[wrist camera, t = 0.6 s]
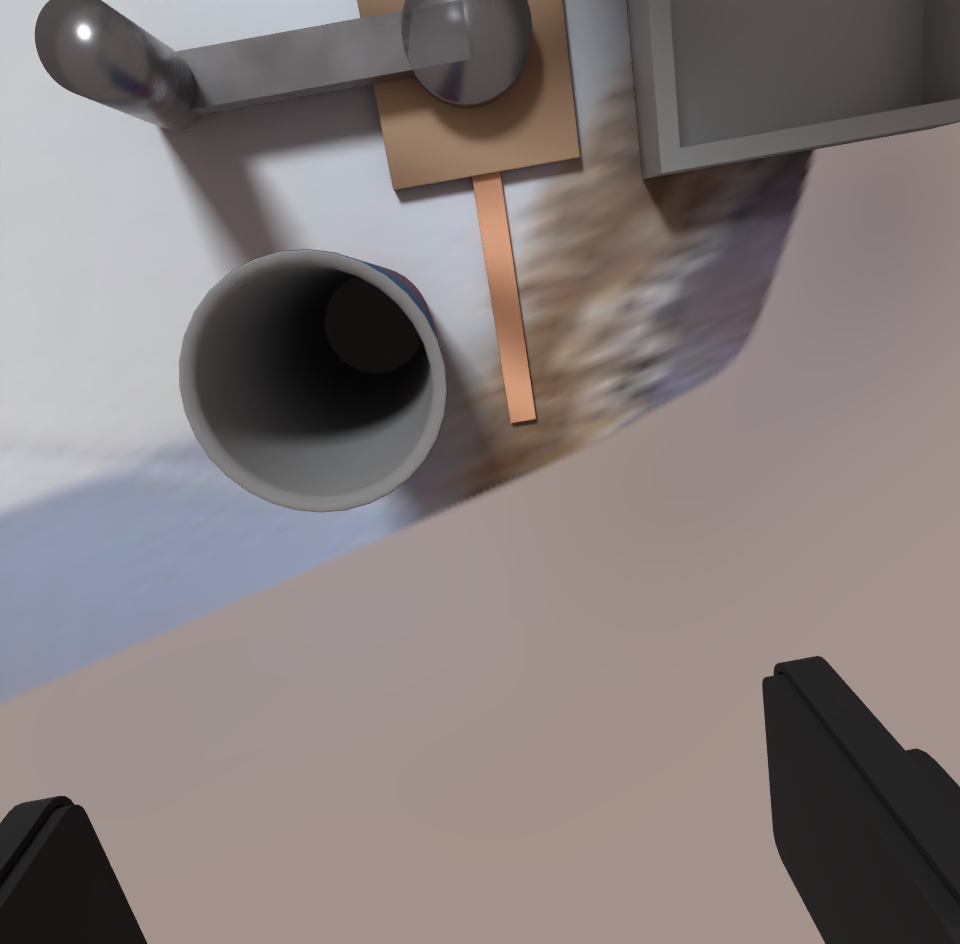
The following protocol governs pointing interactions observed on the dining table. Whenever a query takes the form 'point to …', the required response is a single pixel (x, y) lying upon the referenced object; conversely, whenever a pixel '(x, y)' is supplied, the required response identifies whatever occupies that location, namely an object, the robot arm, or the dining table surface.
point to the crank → (285, 58)
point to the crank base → (487, 159)
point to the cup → (314, 379)
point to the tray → (786, 76)
